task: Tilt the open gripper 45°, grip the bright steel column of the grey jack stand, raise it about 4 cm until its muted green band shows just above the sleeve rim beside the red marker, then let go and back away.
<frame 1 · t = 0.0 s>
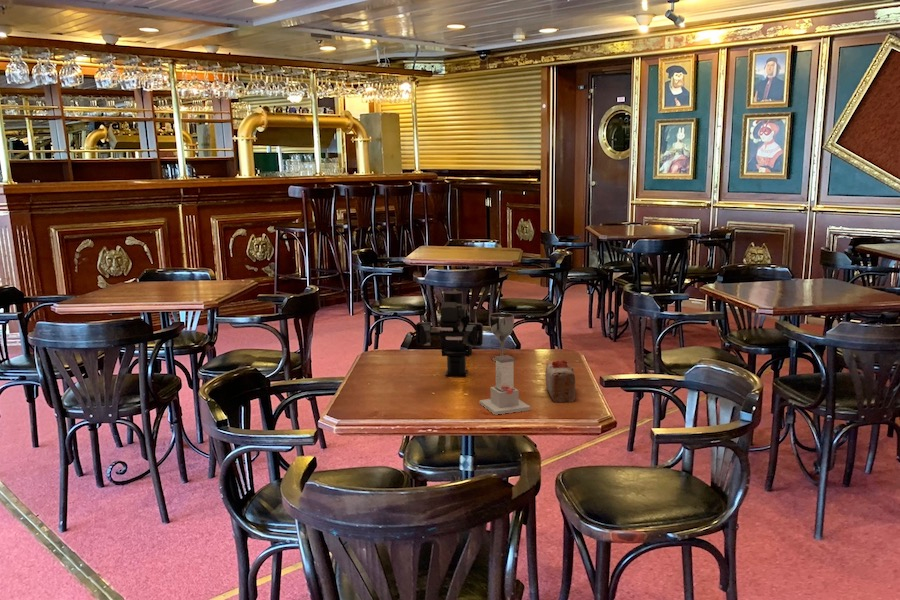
hand: (445, 340, 192), 17 cm above the table, tool horizontal, fingers open, 9 cm apart
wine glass: (501, 360, 237), on the table
column: (504, 380, 188), point 7 cm above the table, slide at 0.0 cm
food item: (560, 395, 199), on the table
stand base: (504, 407, 189), on the table
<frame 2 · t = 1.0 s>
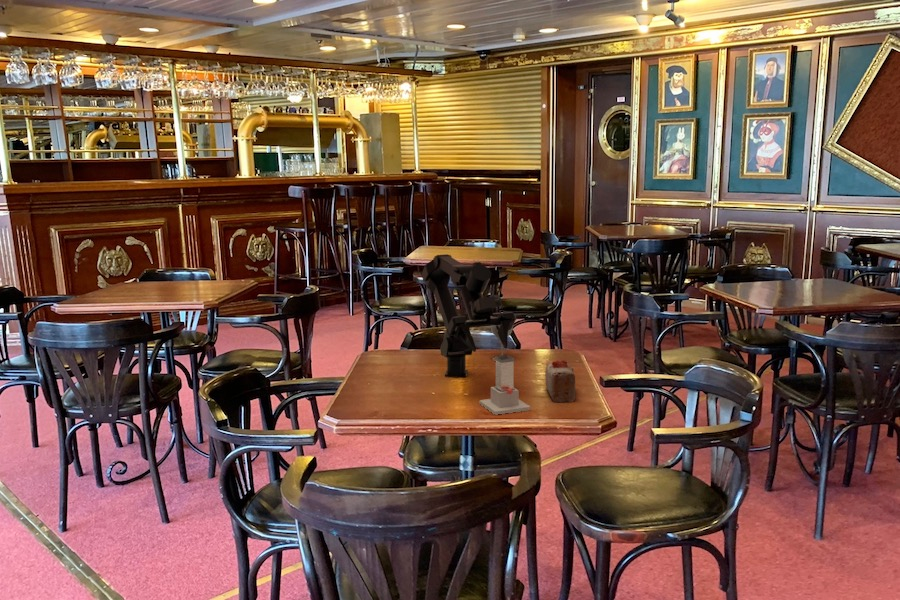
hand: (490, 349, 194), 14 cm above the table, tool tilted 45°, fingers open, 9 cm apart
nothing on the table moved.
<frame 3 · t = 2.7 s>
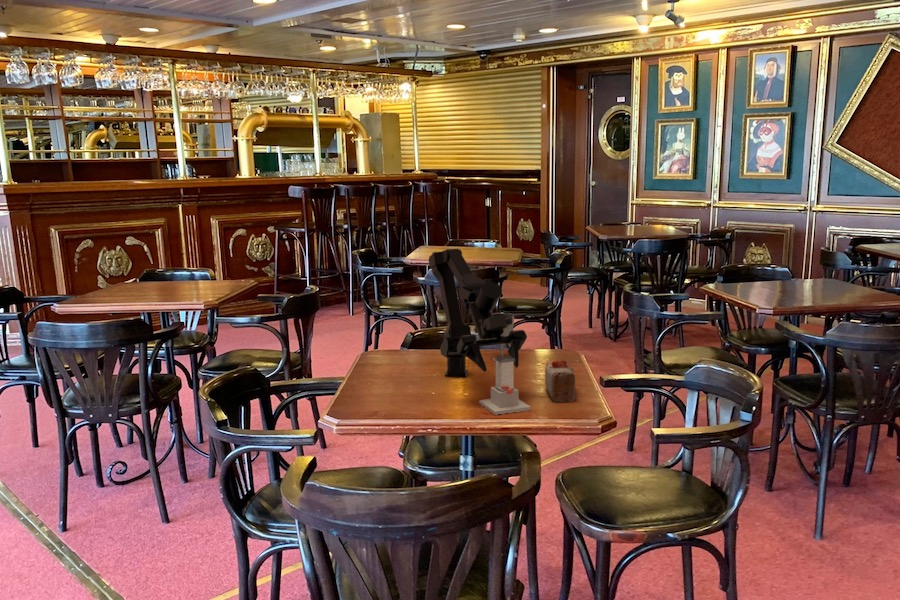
hand: (501, 368, 189), 10 cm above the table, tool tilted 45°, fingers open, 9 cm apart
nothing on the table moved.
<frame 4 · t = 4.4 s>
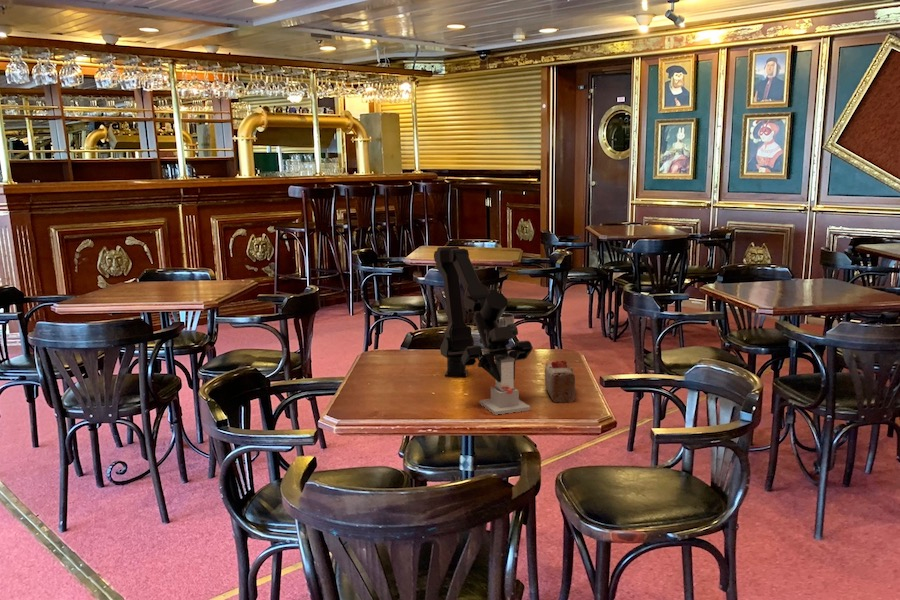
hand: (506, 380, 186), 8 cm above the table, tool tilted 45°, fingers closed on column, 3 cm apart
column: (504, 380, 188), point 7 cm above the table, slide at 0.0 cm, touching gripper
everything else where it was.
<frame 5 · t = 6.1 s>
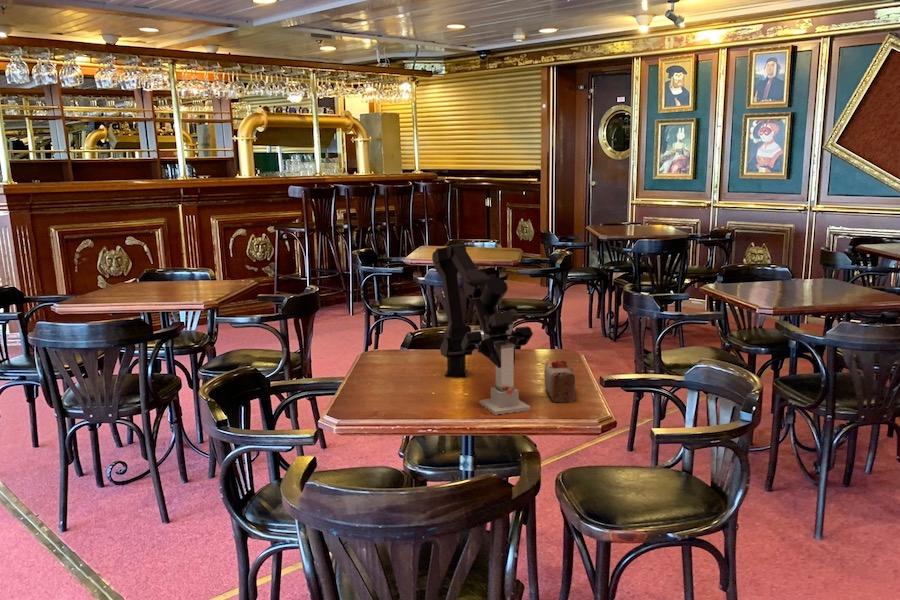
hand: (506, 366, 186), 11 cm above the table, tool tilted 45°, fingers closed on column, 3 cm apart
column: (504, 366, 187), point 11 cm above the table, slide at 3.8 cm, touching gripper
everything else where it was.
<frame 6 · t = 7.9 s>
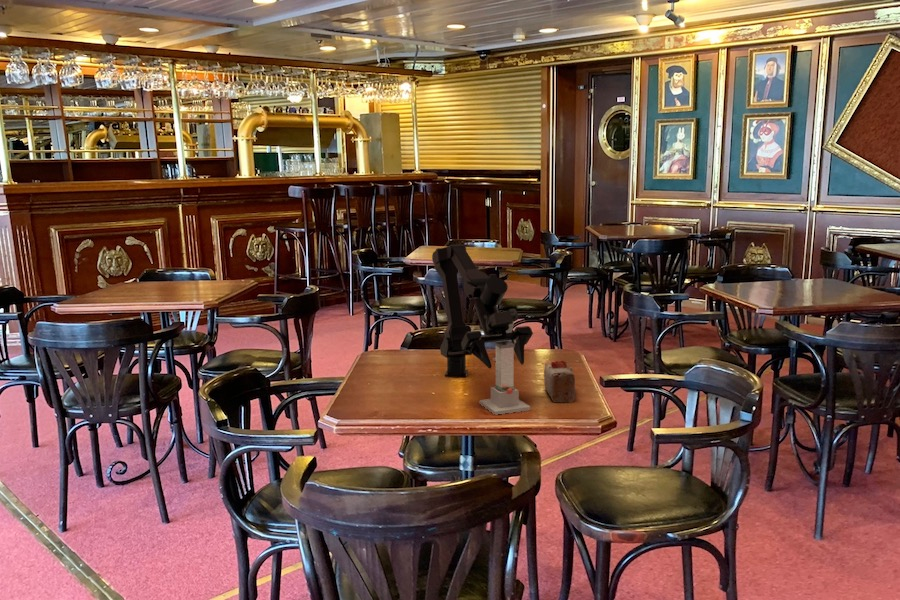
hand: (506, 365, 186), 12 cm above the table, tool tilted 45°, fingers open, 9 cm apart
column: (504, 366, 187), point 11 cm above the table, slide at 3.8 cm
everything else where it was.
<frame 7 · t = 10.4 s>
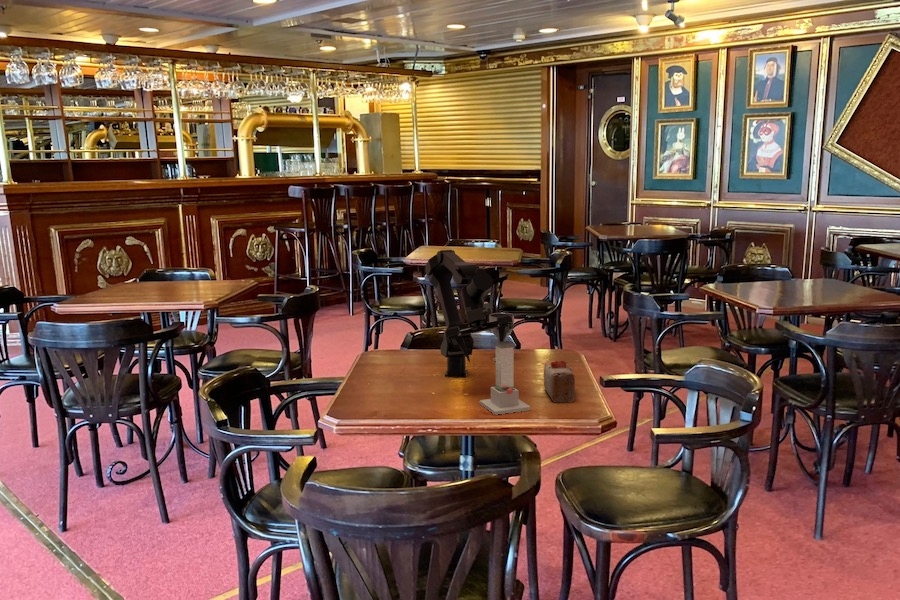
hand: (485, 357, 196), 11 cm above the table, tool tilted 35°, fingers open, 9 cm apart
nothing on the table moved.
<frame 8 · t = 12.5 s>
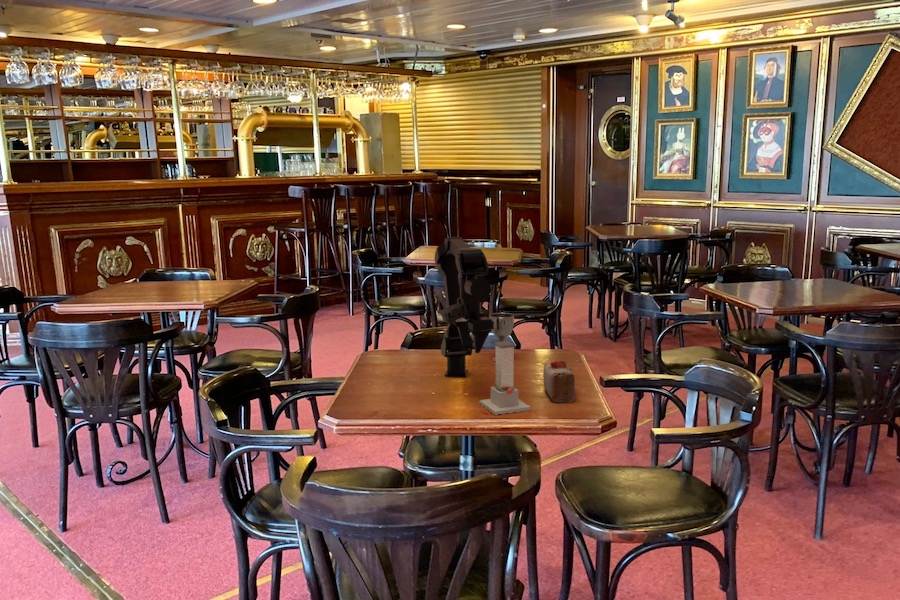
hand: (471, 349, 202), 12 cm above the table, tool pointing down, fingers open, 9 cm apart
nothing on the table moved.
at the end: column slide at 3.8 cm; the gripper is holding nothing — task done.
